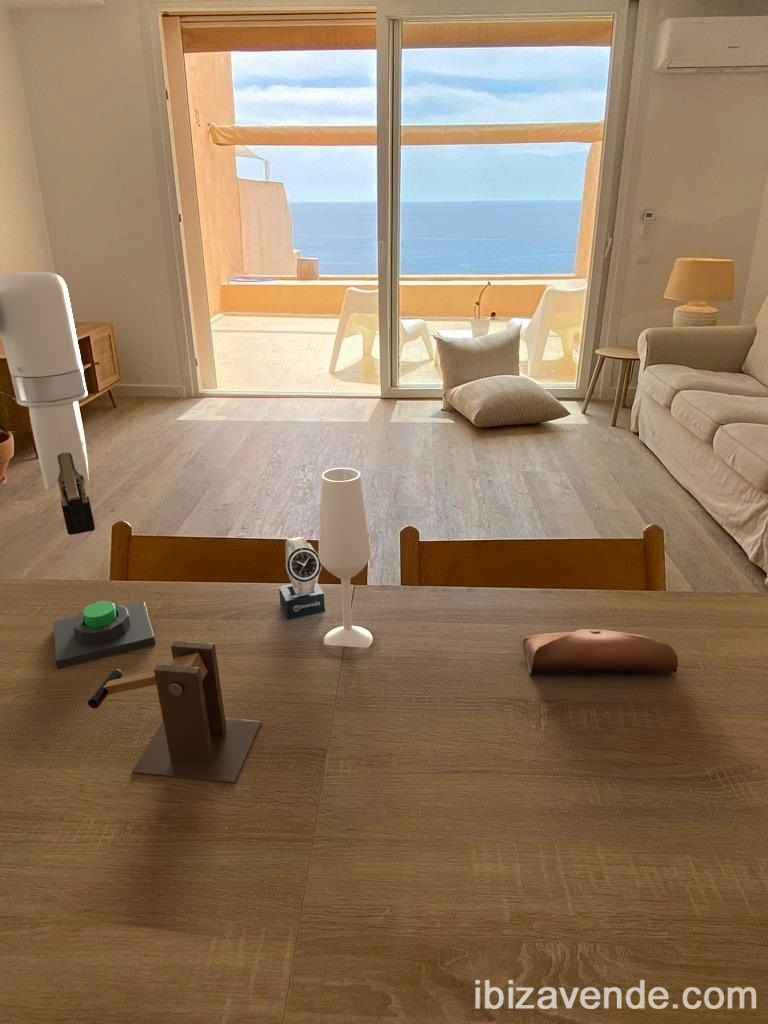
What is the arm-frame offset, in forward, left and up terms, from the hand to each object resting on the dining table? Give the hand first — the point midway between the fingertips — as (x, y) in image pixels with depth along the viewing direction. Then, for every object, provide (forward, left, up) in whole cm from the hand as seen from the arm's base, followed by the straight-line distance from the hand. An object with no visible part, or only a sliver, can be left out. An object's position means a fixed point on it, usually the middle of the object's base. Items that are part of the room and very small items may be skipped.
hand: (81, 529), depth 87 cm
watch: (+26, +8, -17) cm, 32 cm away
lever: (+14, -20, -9) cm, 26 cm away
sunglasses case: (+65, -5, -17) cm, 67 cm away
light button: (0, 0, -14) cm, 14 cm away
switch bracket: (+18, -21, -17) cm, 32 cm away
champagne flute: (+33, 0, -17) cm, 37 cm away
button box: (0, 0, -17) cm, 17 cm away
